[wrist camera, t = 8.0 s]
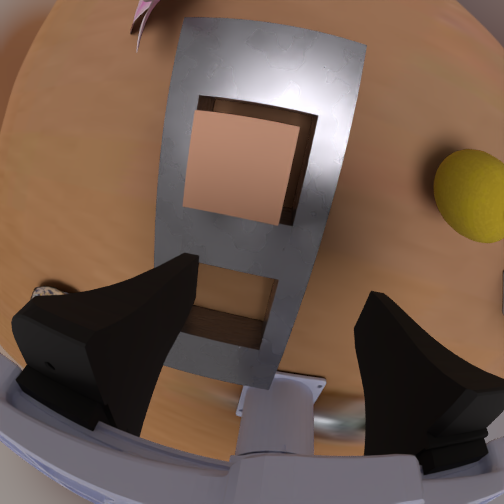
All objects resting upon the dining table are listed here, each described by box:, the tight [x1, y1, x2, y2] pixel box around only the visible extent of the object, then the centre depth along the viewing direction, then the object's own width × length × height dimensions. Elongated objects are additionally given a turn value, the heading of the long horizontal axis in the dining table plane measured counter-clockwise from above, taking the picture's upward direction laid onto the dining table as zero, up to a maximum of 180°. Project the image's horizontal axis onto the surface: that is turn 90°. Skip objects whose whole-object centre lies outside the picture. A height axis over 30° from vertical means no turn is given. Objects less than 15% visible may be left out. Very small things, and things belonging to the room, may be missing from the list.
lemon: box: [434, 149, 504, 243], centre depth 13 cm, size 6×6×8 cm
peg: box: [183, 110, 300, 226], centre depth 15 cm, size 4×4×7 cm
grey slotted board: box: [154, 17, 367, 390], centre depth 19 cm, size 26×10×4 cm, turn 170°
